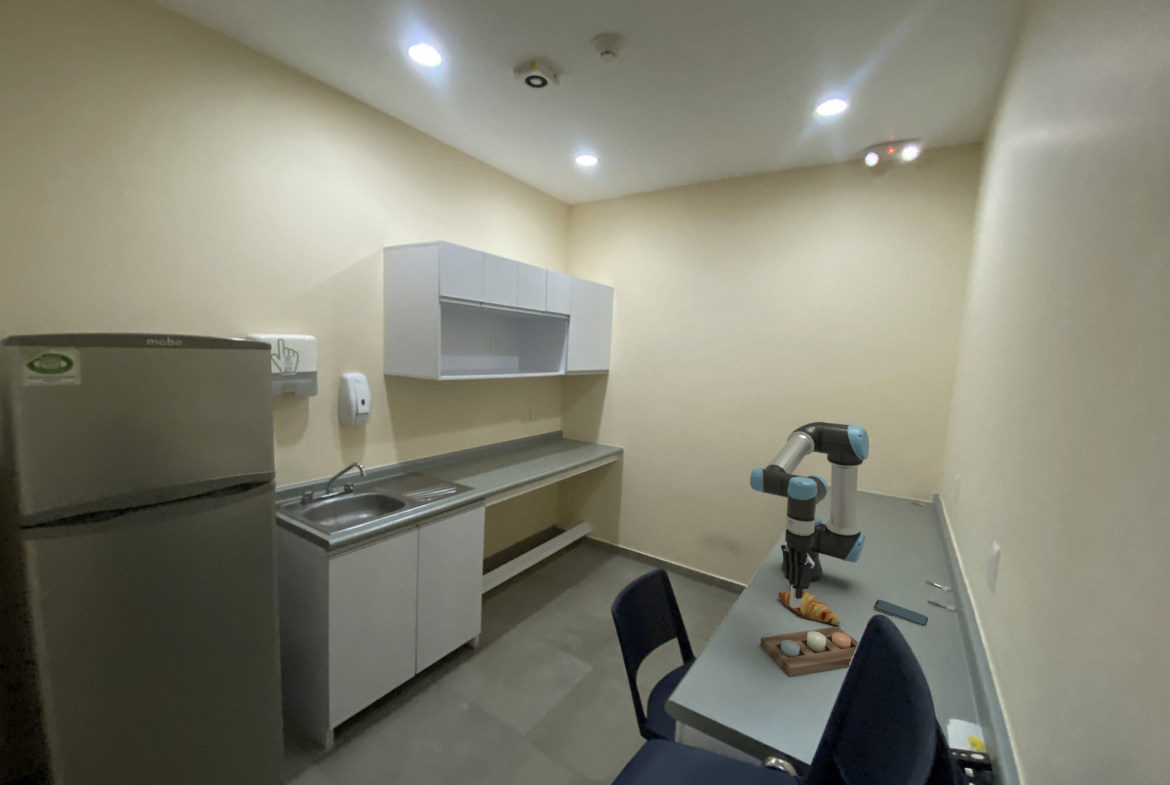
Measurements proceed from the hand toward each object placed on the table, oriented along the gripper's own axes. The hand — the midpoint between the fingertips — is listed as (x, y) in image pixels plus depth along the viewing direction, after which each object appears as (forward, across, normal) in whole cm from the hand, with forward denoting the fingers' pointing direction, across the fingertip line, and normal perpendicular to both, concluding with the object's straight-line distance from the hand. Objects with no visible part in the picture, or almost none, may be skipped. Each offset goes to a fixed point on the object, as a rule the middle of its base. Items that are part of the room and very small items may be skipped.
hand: (795, 606), depth 139 cm
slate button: (+14, +2, -3) cm, 14 cm away
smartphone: (+16, -9, +51) cm, 54 cm away
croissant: (+16, -17, +19) cm, 30 cm away
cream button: (+13, +2, +6) cm, 14 cm away
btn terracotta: (+14, +2, +15) cm, 21 cm away
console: (+15, +2, +6) cm, 16 cm away
